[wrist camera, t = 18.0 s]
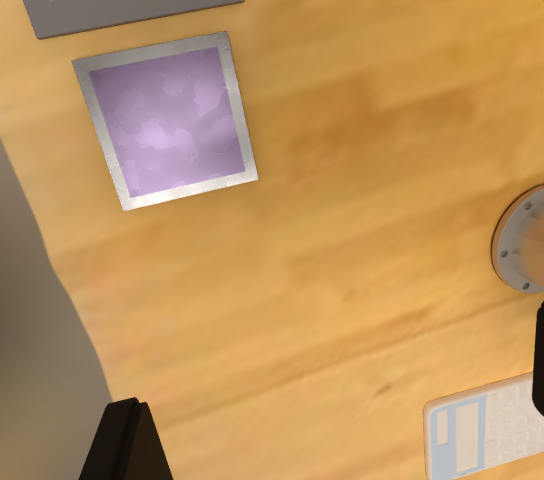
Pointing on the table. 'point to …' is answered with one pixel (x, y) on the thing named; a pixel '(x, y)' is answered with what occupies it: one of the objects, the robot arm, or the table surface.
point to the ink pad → (169, 119)
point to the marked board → (105, 13)
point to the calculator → (481, 428)
